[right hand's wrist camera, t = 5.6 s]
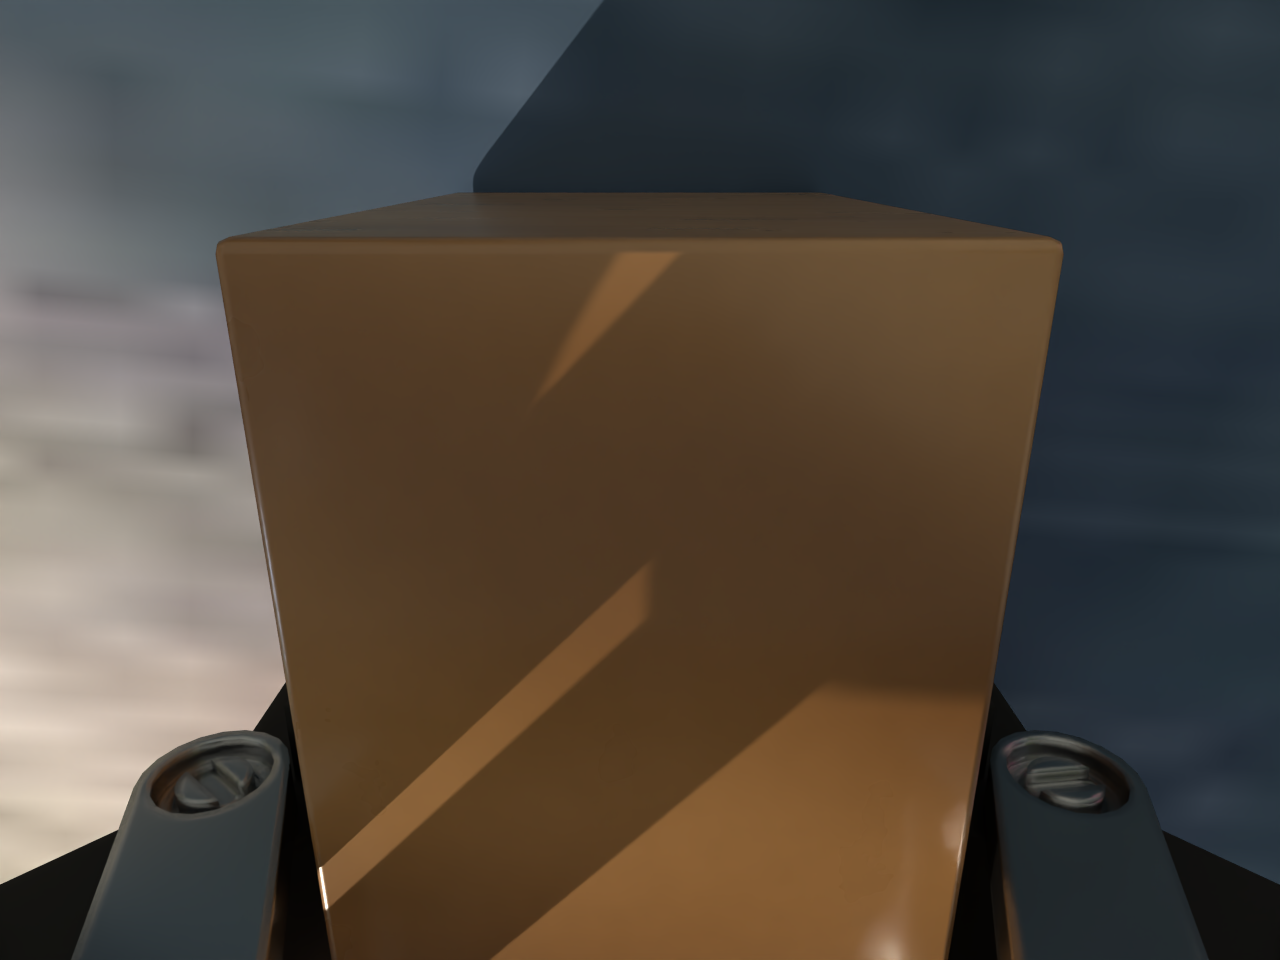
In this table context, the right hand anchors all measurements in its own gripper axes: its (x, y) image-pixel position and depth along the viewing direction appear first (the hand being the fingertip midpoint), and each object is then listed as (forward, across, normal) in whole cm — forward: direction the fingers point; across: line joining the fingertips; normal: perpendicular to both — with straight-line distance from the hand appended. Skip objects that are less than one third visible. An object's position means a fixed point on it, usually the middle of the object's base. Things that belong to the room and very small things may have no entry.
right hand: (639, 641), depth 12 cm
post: (+2, 0, -25) cm, 25 cm away
